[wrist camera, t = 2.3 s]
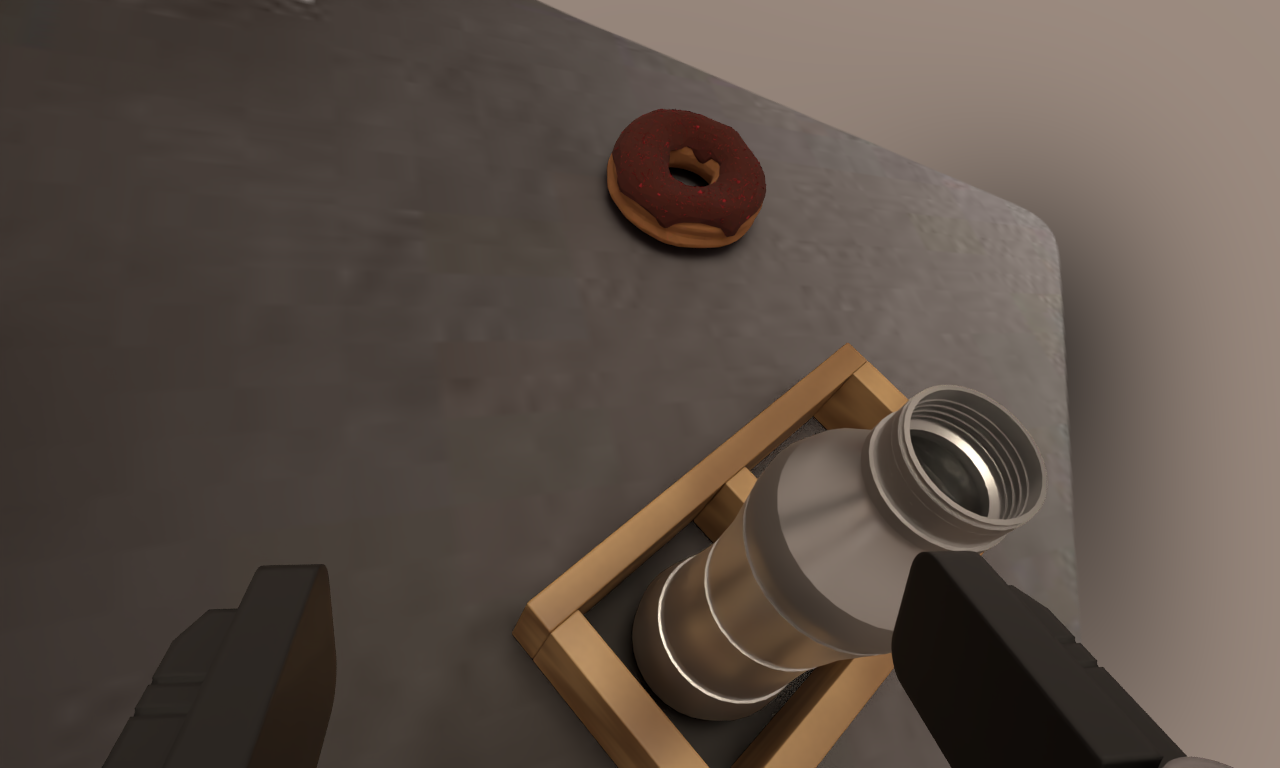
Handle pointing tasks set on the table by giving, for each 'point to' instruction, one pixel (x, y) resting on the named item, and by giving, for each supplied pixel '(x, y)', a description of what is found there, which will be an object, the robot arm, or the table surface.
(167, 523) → the table surface
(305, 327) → the table surface
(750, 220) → the donut
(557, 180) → the table surface
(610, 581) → the caddy
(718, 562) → the grey metal bottle
